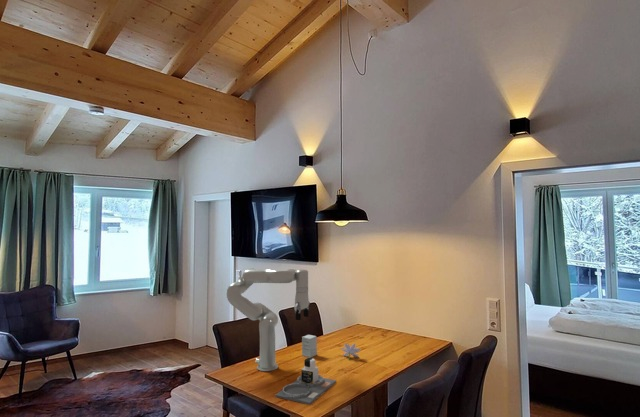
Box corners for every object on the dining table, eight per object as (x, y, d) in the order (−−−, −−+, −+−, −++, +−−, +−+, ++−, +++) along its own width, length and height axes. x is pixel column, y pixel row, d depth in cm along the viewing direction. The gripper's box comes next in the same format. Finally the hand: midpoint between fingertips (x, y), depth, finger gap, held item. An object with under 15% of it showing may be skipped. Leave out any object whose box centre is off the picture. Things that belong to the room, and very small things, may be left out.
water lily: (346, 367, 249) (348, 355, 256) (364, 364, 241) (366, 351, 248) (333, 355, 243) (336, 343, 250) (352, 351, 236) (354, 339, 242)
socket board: (275, 396, 189) (275, 394, 189) (304, 376, 216) (304, 374, 216) (310, 404, 180) (309, 402, 180) (336, 382, 207) (336, 380, 207)
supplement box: (308, 353, 258) (308, 334, 259) (317, 355, 253) (317, 336, 254) (301, 355, 252) (301, 336, 253) (310, 358, 247) (309, 338, 248)
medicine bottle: (301, 382, 204) (301, 360, 205) (307, 378, 210) (307, 356, 211) (312, 384, 201) (312, 361, 202) (318, 380, 207) (318, 357, 208)
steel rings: (277, 394, 189) (277, 391, 189) (305, 375, 215) (305, 372, 215) (301, 400, 182) (301, 396, 183) (327, 379, 208) (327, 376, 209)
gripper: (303, 287, 240) (303, 314, 239) (289, 291, 225) (289, 320, 224) (314, 288, 237) (314, 316, 236) (300, 292, 221) (300, 321, 220)
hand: (302, 318), depth 230 cm, fingers open, 9 cm apart
